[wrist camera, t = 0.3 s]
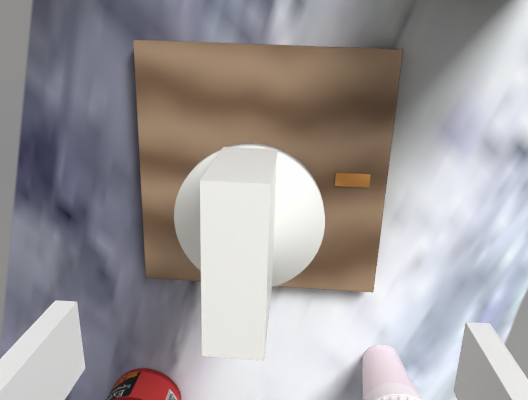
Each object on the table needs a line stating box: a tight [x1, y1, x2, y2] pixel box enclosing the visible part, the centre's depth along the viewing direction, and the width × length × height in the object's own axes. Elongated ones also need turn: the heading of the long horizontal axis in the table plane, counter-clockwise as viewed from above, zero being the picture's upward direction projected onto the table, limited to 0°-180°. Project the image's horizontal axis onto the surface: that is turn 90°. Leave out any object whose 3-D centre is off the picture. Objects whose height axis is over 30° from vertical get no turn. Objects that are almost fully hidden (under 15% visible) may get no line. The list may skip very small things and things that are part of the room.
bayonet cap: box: [174, 143, 325, 361], centre depth 29 cm, size 12×10×9 cm
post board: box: [133, 40, 403, 292], centre depth 38 cm, size 22×22×12 cm
